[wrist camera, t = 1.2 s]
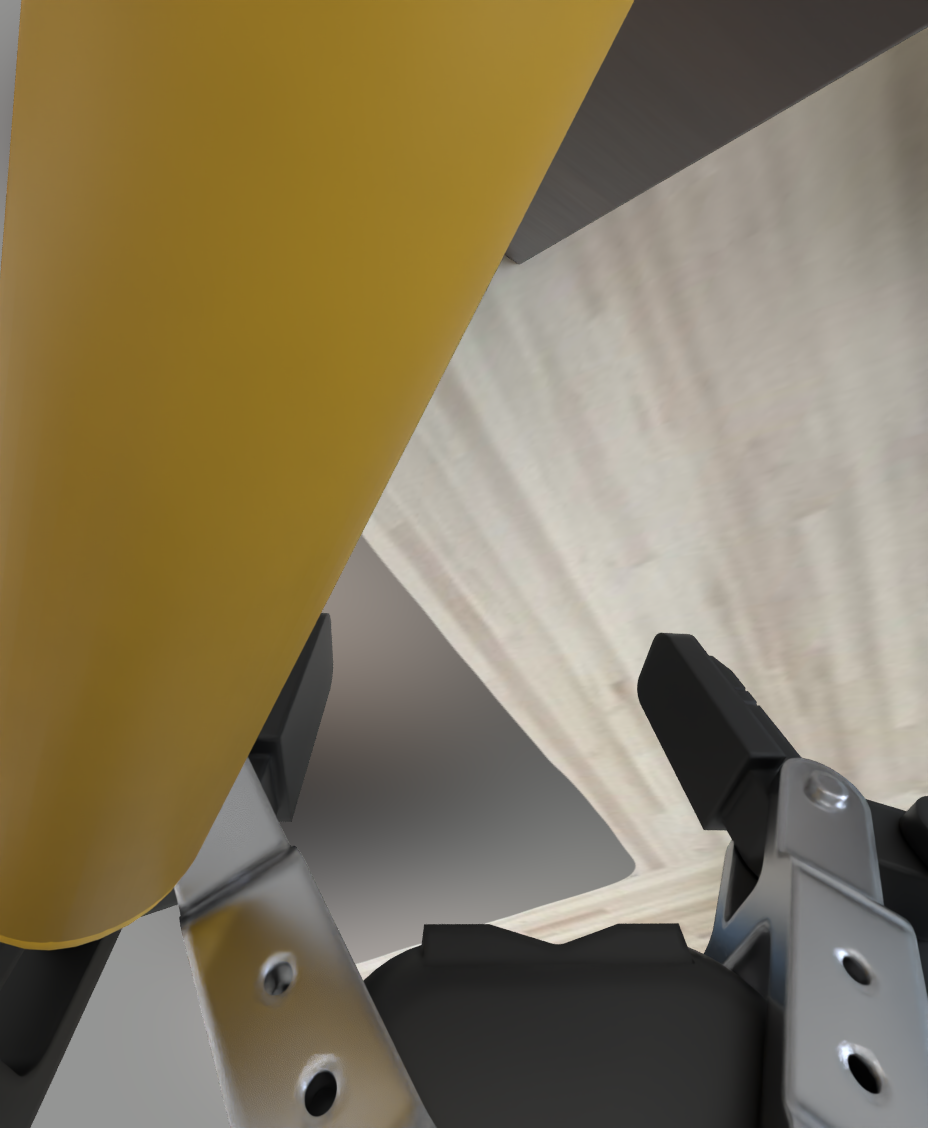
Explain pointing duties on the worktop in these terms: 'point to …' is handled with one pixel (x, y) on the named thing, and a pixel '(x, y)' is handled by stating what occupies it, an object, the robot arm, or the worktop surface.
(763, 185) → the worktop surface
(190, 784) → the hammer
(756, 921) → the robot arm
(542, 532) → the worktop surface
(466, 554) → the worktop surface
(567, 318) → the worktop surface
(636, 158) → the stand
